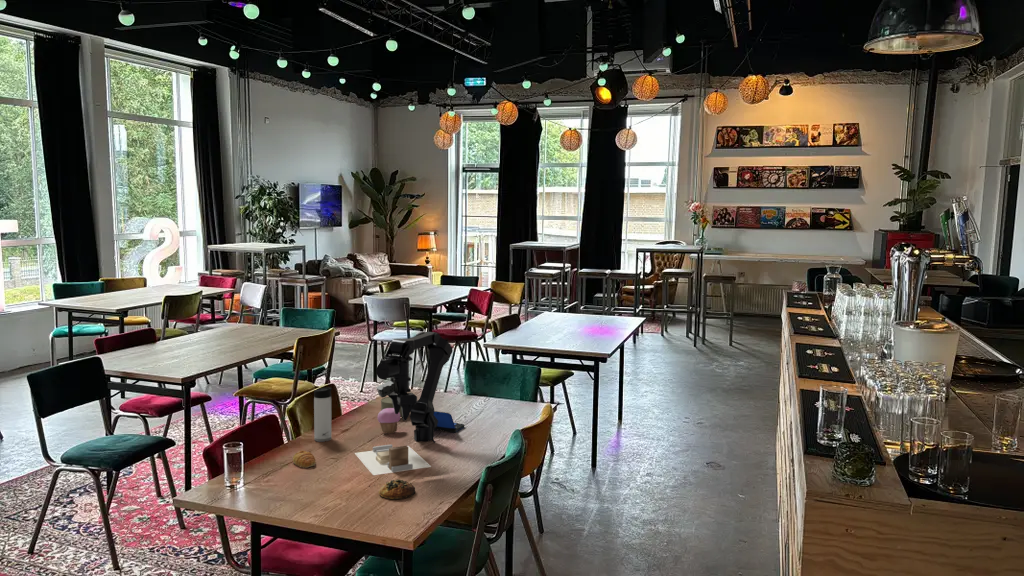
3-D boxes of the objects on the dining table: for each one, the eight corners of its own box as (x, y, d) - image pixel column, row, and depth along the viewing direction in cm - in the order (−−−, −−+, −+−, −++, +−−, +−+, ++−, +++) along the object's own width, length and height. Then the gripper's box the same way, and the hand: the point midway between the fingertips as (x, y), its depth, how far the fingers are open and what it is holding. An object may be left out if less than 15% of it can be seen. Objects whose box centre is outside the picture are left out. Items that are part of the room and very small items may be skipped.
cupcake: (402, 430, 280) (402, 405, 279) (397, 437, 271) (397, 411, 270) (381, 429, 281) (381, 404, 280) (374, 435, 272) (374, 410, 271)
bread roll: (418, 498, 212) (415, 482, 212) (381, 506, 209) (378, 490, 209) (413, 486, 223) (411, 470, 222) (378, 493, 220) (375, 478, 219)
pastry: (320, 466, 238) (320, 455, 238) (301, 470, 234) (301, 459, 234) (309, 458, 246) (308, 448, 245) (290, 463, 241) (290, 452, 241)
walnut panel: (406, 465, 237) (406, 445, 236) (408, 467, 235) (408, 447, 234) (389, 468, 234) (389, 447, 233) (390, 470, 232) (390, 449, 232)
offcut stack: (403, 455, 247) (403, 448, 247) (408, 459, 243) (408, 453, 243) (375, 459, 243) (375, 452, 242) (379, 463, 238) (379, 457, 238)
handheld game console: (465, 427, 286) (466, 405, 285) (450, 436, 274) (450, 413, 273) (432, 422, 292) (432, 401, 291) (415, 431, 280) (415, 408, 279)
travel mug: (327, 442, 263) (327, 390, 261) (311, 441, 264) (311, 389, 262) (335, 437, 269) (334, 386, 267) (319, 436, 270) (318, 385, 268)
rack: (408, 448, 258) (408, 441, 258) (431, 469, 237) (431, 462, 236) (354, 455, 249) (354, 448, 249) (373, 478, 228) (373, 470, 227)
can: (374, 415, 300) (374, 400, 300) (394, 410, 310) (394, 394, 310) (395, 420, 294) (395, 404, 293) (414, 414, 303) (414, 399, 303)
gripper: (371, 371, 255) (371, 413, 257) (386, 381, 239) (386, 426, 240) (401, 368, 260) (400, 409, 262) (417, 379, 244) (417, 423, 245)
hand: (400, 417), depth 252 cm, fingers open, 9 cm apart
